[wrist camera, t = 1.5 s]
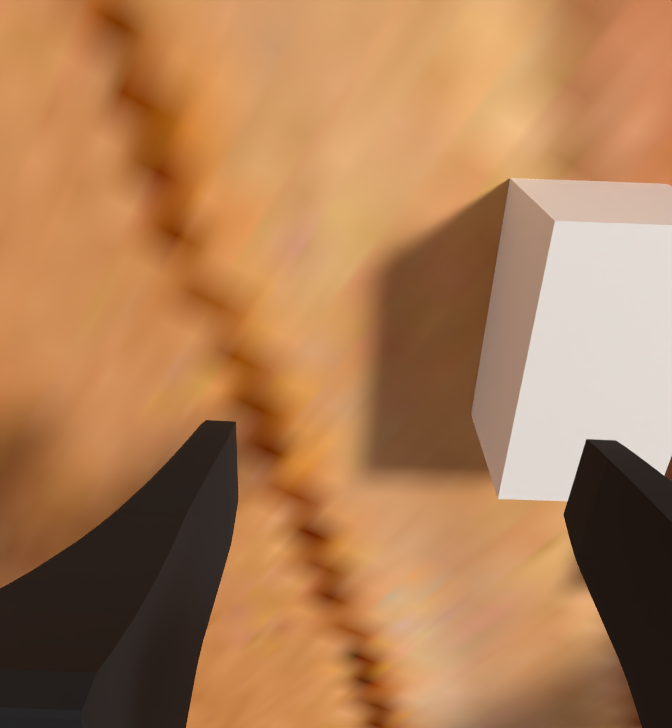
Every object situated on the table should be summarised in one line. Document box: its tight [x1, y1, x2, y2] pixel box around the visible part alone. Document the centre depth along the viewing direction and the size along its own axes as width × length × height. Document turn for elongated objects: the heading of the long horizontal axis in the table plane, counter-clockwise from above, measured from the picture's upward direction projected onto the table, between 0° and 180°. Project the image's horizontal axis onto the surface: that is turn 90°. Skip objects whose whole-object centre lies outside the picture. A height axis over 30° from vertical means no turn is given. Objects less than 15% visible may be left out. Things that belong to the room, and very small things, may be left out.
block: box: [471, 178, 672, 501], centre depth 20 cm, size 9×5×5 cm, turn 178°
